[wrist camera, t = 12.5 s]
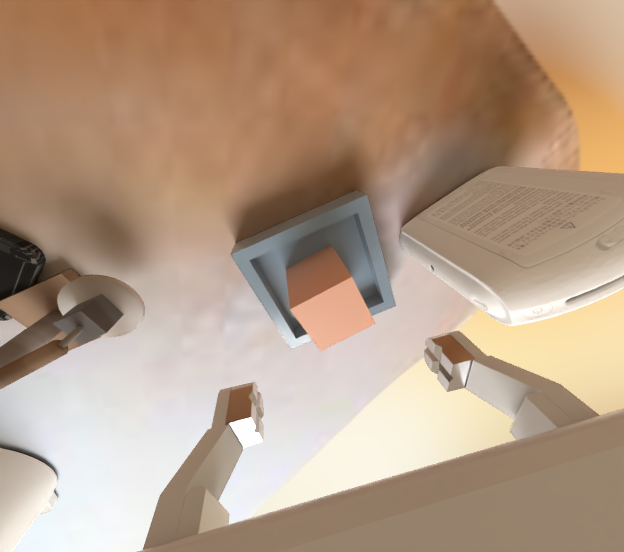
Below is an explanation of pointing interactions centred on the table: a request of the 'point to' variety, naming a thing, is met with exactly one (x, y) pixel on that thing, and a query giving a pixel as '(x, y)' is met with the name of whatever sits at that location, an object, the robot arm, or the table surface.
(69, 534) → the table surface
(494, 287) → the photo printer
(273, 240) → the dish
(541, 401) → the robot arm
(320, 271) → the terracotta block
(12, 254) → the phone
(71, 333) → the tipped balance
